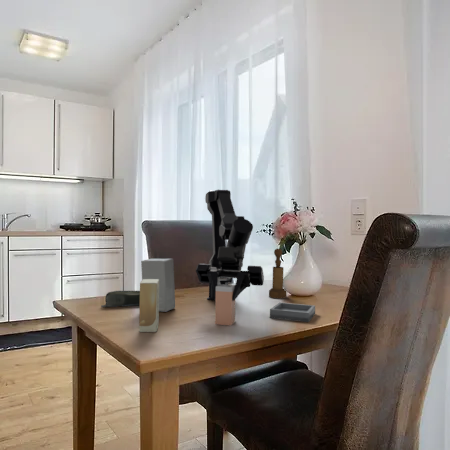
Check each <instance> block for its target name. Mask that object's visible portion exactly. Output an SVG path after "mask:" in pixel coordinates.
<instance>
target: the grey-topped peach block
mask: <svg viewBox="0 0 450 450" xmlns="http://www.w3.org/2000/svg"><path fill="white" fill-rule="evenodd" d="M234 288H235V284H228V285H225V284H220V285H218V286H216V300H215V308H214V309H215V315H214V317H215V318H214V320H215V321H214V323H215V325H222V326H233V324H234V323H235V322H236V299H235V300H234V301H233V300H232V296H233V291H234Z"/></svg>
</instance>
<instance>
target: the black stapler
mask: <svg viewBox="0 0 450 450" xmlns="http://www.w3.org/2000/svg"><path fill="white" fill-rule="evenodd" d="M117 306H122V307H140V290H114V291H108V292H107V293H106V295H105V304H101V305H100V307H101V308H113V307H114V308H116V307H117Z"/></svg>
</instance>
